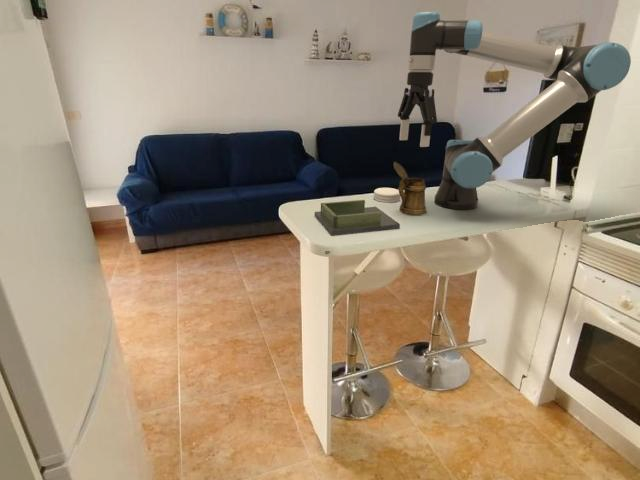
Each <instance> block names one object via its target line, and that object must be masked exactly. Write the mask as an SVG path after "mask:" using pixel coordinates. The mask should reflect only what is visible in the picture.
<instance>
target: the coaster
mask: <svg viewBox="0 0 640 480" xmlns="http://www.w3.org/2000/svg"><path fill="white" fill-rule="evenodd" d="M373 200H375V201H377V202H378V203H383V204H384V203H385V204H393V203H399V202H400V200H401V196H400V194H399V189H398V188H397V189H396V188H392V187H378V188H376V189H374V190H373Z"/></svg>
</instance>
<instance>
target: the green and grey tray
mask: <svg viewBox="0 0 640 480" xmlns="http://www.w3.org/2000/svg"><path fill="white" fill-rule="evenodd" d="M365 205H366V200H365V199H355V200H343V201H342V200H341V201H331V202H321V203H320V210H319V211H314V218H315V219H317V221H318V223H320V224H321V226H322V227H323V226H324V227H323V228H324V229H325V230H326V232H327V233H328V234H329V235H330V236H332V237H333V236H342V235H352V234H362V233H371V232H382V231H383V232H384V231H389V230H392V231H393V230H400V229H401V228H400V226H401V224H400V223H399V222H398V221H396V220H395V219H394V218H392V217H391V216H389V215H388V214H387V213H385V212H384V211H382V210H381V209H380V208H379V207H377V206H369V207H365Z"/></svg>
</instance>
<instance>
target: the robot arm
mask: <svg viewBox="0 0 640 480" xmlns="http://www.w3.org/2000/svg"><path fill="white" fill-rule="evenodd" d="M412 18H413V19H412V26H411V33H410V34H411V35H410V48H409V58H408V70H409V72H408V73H407V79H406V85H407V86H410V87H405V88H404V93H403V96H402V99H401V104H400V106H399V109H398V112H397V117H398V118H399V119H400V127H399V129H400V130H399V141H409V139H408V138H409V130H410V116H411V114H412V112H413V110H414V108H415V106H418V107H419V110H420V115H421V117H422V123H421V133H420V142H419V147H420V148H426V147H430V140H431V136H432V135H431V133H432V127H433V125H434V124H437V123H438V118H437V117H438V116H437V110H436V103H435V101H436V100H435V89H434V88H433V89H431V88H429V86H432V85H433V78H434V73H433V72H432V71H434V70H435V63H436V51H437V50H438V51H439V50H442V51H444V52H446V53H449V54H458V55H460V56H461V55H462V56H466V57H470V58H476V59H480V60H483V61H489V62H492V63H497V64H502V65H505V66H508V67H512V68H518V69H523V70H526V71H531V72H536V73H540V74H543V76H544V78H545V79H549V80H552V81H554V82H552V84H550V85H549V86H548V87H547V88H545V89H544V90H542V91H541V92H540V93H539V94H538V95H536V96H535V97H534V98H533V99H531V100H530V101H529V102H527V104H524V106H523V107H521V108H520V109H518V110H517V111H516V112H515V113H513V115H511V116H510V117H509V118H508V119H507V120H505V121H504V122H503V123H501V124H500V125H498V126H497V127H496V128H494V129H493V130H492V131H491V132H490V133H489V134H487V135H485V136H477V137H476V138H475V139H473V140H469V139H468V140H467V139H466V140H465V139H464V140H463V139H449V140H448V141H447V142H446V146H445V154H444V155H445V156H444V163H443V171H442V179H441V182H440V184H439V187H438V189H437V191H436V193H435V195H434V201H433V202H434V204H436V205H438V206H440V207H441V208H446V209H450V210H460V211H461V210H464V211H465V210H466V211H467V210H472V209H473V210H474V209H476V208H477V207H478V205H479V197H478V190H477V188H480V187H482V186H483V185H485V184H486V183H487V182H488V181H489V180H490V179H491V177H492V174H493V173H494V172H495V171H496V170H498V169H499V168H500V167H502V165H503V161H504V158H505V157H507V156H508V155H509V154H511V153H512V152H513V151H515V150H516V149H517V148H519V147H520V146H521V145H523V144H524V143H525V142H527V141H528V140H529V139H531V138H532V137H533V136H534V135H536V134H537V133H538V132H540V131H541V130H542V129H544V128H545V127H546V126H547V125H549V124H551V123H552V122H553V121H554V120H556V119H557V118H558V117H560V115H562V114H563V113H565V112H566V111H567V110H569V109H570V108H572V106H574V105H576V104H577V103H587V102H588V101H589V100H591V99H592V98H593V97H595V96H596V95H598V94H599V93H600V92H601V91H607V90H610V89H612V88H614V87H617V86H618V85H619V84H621V83H622V82H623V80H625V78H627V75H628V74H629V71H630V68H631V67H630V66H631V62H632V59H631V55H630V52H629V50H628V49H627V48H626V47H625V45H622V44H620V43H618V42H611V41H610V42H609V41H608V42H607V41H605V42H601V43H599V44H593V45H585V46H569V45H568V46H567V45H563V44H559V45H557V46H555V47H554V46H548V45H544V44H540V43H536V42H531V41H527V40H522V39H518V38H513V37H509V36H505V35H500V34H497V33H491V32H486V31H483V27H484V25H483V22H482V21H481V20H475V19H474V20H472V19H469V20H464V19H462V20H441V14H440V13H439V12H437V11H421V12H417V13H415V15H414V16H413V17H412Z"/></svg>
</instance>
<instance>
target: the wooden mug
mask: <svg viewBox="0 0 640 480" xmlns="http://www.w3.org/2000/svg"><path fill="white" fill-rule="evenodd" d="M393 169H394V171H395V172H396V173H397V175H399V177H400V178H401V179H400V181H399V185H398V190H399V194H400V200H402V201H401V204H400V205H399V210H398V211H399V212H401V213H402V214H404V215H409V216H422V215H425V214H426V213H427V208H426V194H425V193H426V189H427V186H426V182H425V181H426V180H425V179H423V178H421V177H409V175H408V172H407V170H406V169H405V168H404V167H403V166H402V164H401V163H399V162H397V161H394V162H393Z"/></svg>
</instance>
